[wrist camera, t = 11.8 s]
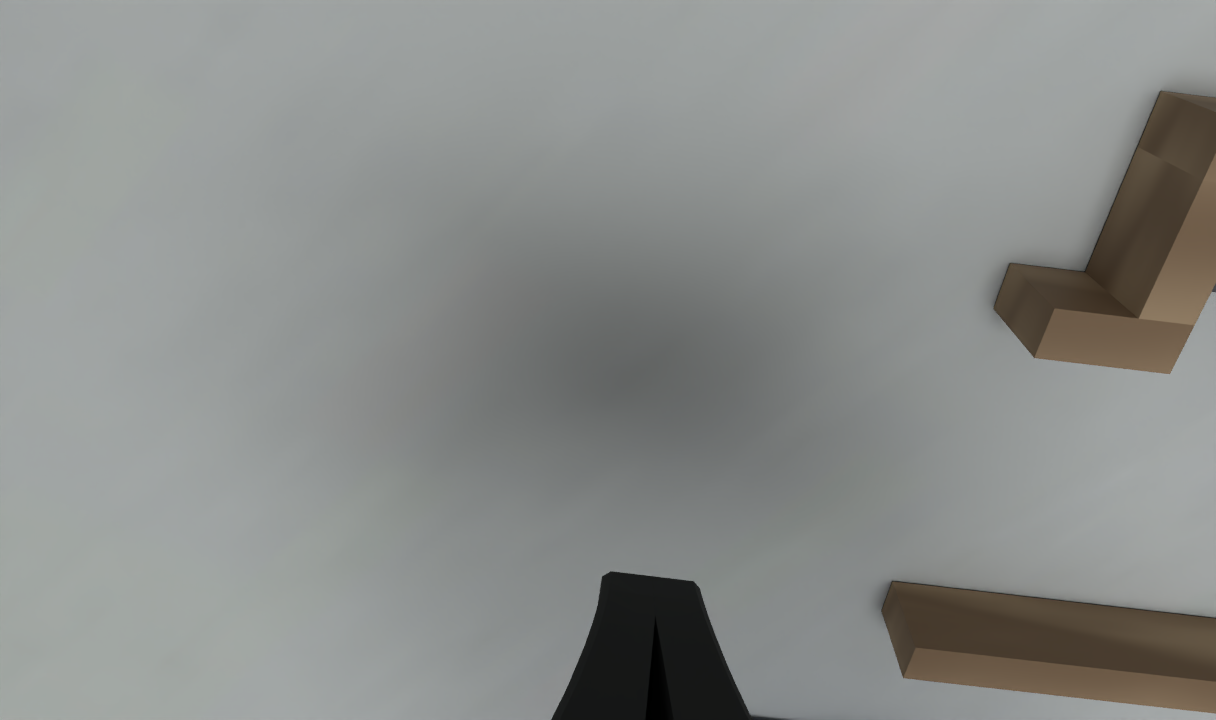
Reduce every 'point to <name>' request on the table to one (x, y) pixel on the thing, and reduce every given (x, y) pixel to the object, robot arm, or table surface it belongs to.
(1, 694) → the table surface
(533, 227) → the table surface
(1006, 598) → the channel
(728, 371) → the table surface
